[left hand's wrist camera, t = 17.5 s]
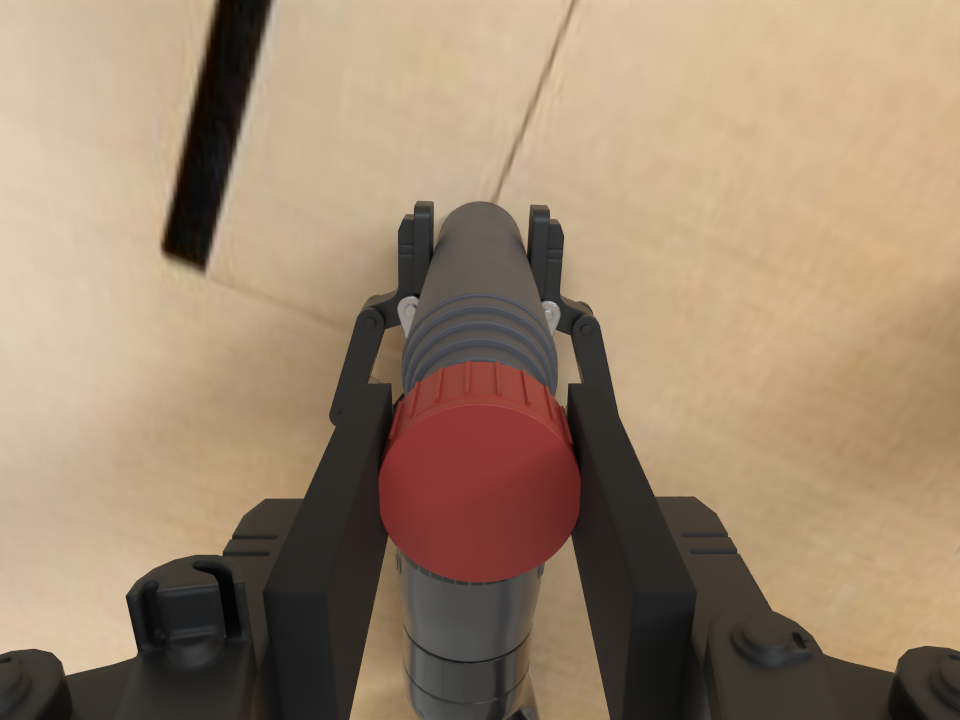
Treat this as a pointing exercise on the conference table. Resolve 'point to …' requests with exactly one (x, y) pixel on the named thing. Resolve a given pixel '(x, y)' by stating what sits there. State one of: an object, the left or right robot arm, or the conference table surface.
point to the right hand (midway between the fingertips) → (482, 207)
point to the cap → (479, 473)
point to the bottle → (479, 302)
